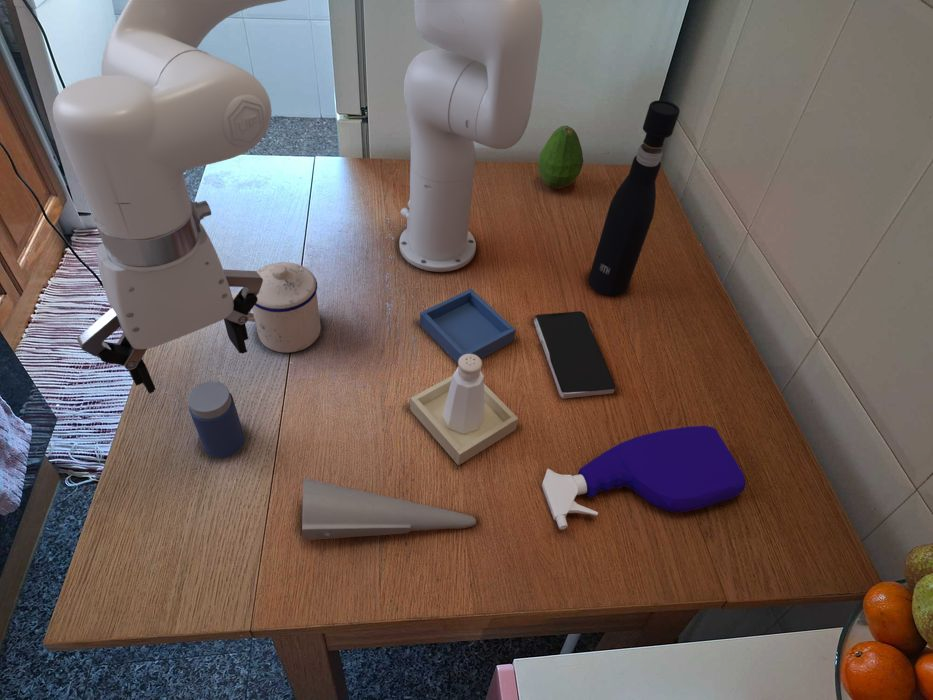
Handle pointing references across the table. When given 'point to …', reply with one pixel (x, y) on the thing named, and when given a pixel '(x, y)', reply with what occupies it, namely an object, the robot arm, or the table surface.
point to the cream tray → (456, 444)
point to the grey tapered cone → (368, 513)
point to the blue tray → (467, 326)
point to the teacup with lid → (286, 307)
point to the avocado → (561, 158)
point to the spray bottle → (654, 473)
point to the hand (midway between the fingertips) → (194, 363)
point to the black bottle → (632, 207)
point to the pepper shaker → (216, 419)
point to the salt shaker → (465, 396)
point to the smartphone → (573, 355)
